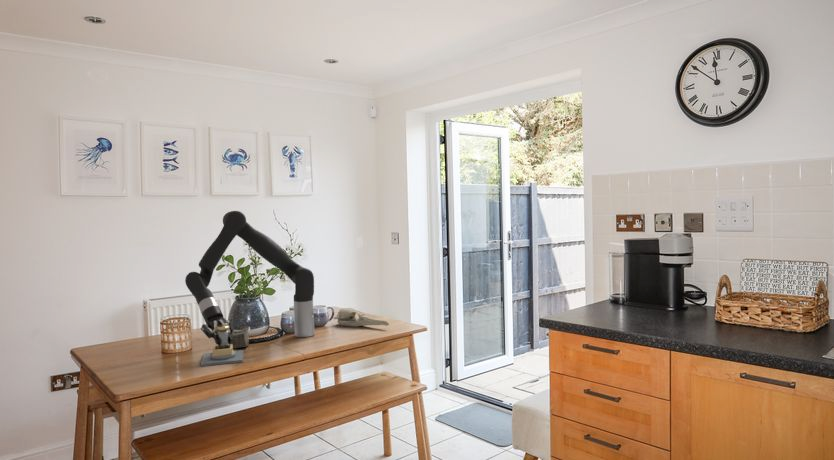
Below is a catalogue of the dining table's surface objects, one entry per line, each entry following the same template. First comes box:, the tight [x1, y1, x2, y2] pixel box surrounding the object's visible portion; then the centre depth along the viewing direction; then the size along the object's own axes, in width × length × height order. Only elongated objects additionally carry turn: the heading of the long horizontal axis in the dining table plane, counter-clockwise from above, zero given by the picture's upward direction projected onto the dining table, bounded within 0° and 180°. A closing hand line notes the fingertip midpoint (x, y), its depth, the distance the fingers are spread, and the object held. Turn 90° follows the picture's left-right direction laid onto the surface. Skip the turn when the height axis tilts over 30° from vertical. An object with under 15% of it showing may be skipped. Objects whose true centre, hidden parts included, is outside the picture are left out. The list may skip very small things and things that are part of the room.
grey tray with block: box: [200, 343, 245, 367], centre depth 225 cm, size 16×16×5 cm
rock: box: [230, 327, 250, 349], centre depth 247 cm, size 17×7×10 cm
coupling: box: [216, 324, 230, 349], centre depth 224 cm, size 5×5×11 cm
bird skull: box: [333, 307, 390, 328], centre depth 280 cm, size 8×32×10 cm, turn 61°
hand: (225, 342), depth 223 cm, fingers closed on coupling, 4 cm apart
